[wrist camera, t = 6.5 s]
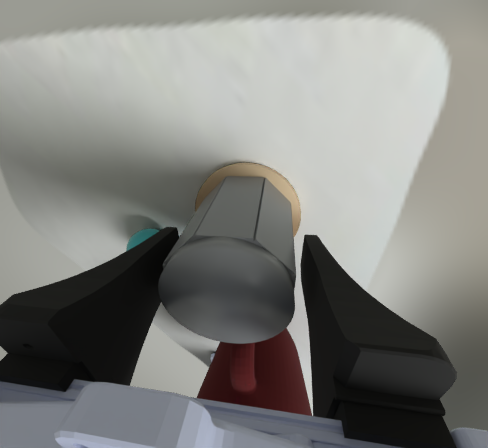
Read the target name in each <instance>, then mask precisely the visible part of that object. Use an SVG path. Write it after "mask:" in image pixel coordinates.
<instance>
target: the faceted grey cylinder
mask: <svg viewBox="0 0 488 448" xmlns="http://www.w3.org/2000/svg"><path fill="white" fill-rule="evenodd" d="M163 269H164V270H163V272H162V273H161V276H160V278H159V284H158V291H159V296H160V299H161V301H162V303H163V305H164V307H165V308H166V310H167V311H168V312H169V314H170V315H171V316H172V317H173V318H174V319H175V320H176V321H178V322H179V323H180V324H181V325H183V326H184V327H186V328H187V329H189V330H191V331H192V332H194V333H197V334H199V335H201V336H204V337H206V338H209V339H213V340H216V341H221V342H227V343H238V344H245V343H254V342H260V341H264V340H267V339H269V338H272V337H274V336H276V335H278V334H279V333H280V332H282V331H283V330H284V329H285V328H286V327H287V326H288V325H289V323H290V322H291V320H292V318H293V315H294V311H295V300H294V288H295V280H296V267H295V253H294V238H293V224H292V210H291V202H290V201H289V200H288V199H287V198H286V197H285V196H284V195H283V194H282V193H281V192H280V191H279V190H278V189H277V188H276V187H275V186H274V185H273V184H272V183H271V182H270V181H269V180H268V179H267V178H265V179H264V177H252V176H227V177H225V178H224V179H223V180H222V181H221V182H220V183H219V184H218V185H217V186H216V187H215V188H214V189H213V190H212V191H211V192H210V193H209V194H208V195H207V196H206V197H205V199H204V200H203V201H202V203H201V205H200V206H199V208H198V209H197V211H196V212H195V214H194V216H193V217H192V219H191V220H190V222H189V223H188V225H187V227H186V228H185V230H184V231H183V233H182V234H181V236H180V237H179V239H178V241H177V242H176V244H175V245H174V247H173V248H172V250H171V252H170V253H169V255H168V256H167V258H166V259H165V261H164V263H163Z"/></svg>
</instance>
